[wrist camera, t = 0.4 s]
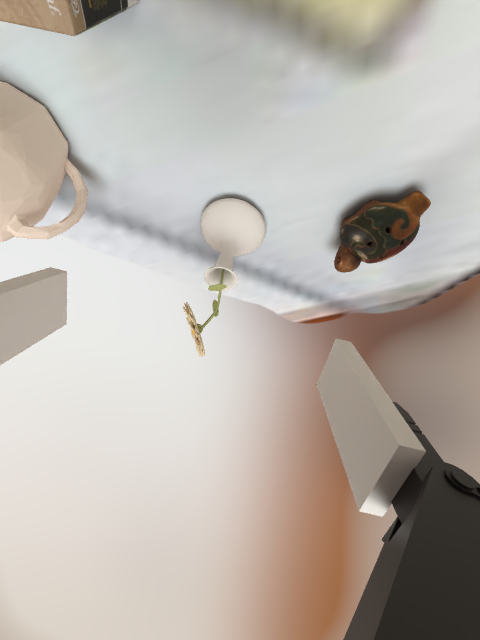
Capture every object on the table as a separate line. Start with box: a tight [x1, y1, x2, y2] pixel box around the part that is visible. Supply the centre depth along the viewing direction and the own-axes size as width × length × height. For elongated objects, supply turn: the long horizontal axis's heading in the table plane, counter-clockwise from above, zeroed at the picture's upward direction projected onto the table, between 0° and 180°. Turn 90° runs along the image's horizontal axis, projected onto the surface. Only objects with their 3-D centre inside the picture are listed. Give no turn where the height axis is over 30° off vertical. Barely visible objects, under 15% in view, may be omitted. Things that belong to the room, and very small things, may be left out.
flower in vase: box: [183, 198, 266, 357], centre depth 44 cm, size 13×11×25 cm
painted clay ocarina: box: [334, 191, 431, 272], centre depth 44 cm, size 10×15×8 cm, turn 147°
